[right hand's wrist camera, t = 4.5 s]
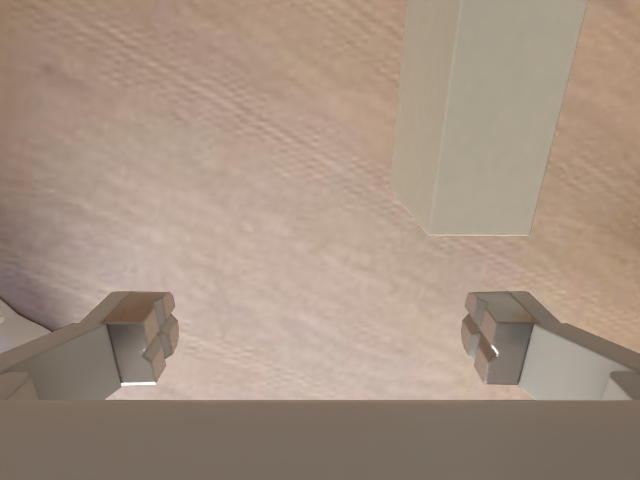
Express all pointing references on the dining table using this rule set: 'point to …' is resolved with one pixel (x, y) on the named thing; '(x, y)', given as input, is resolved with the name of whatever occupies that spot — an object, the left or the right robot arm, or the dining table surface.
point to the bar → (480, 110)
